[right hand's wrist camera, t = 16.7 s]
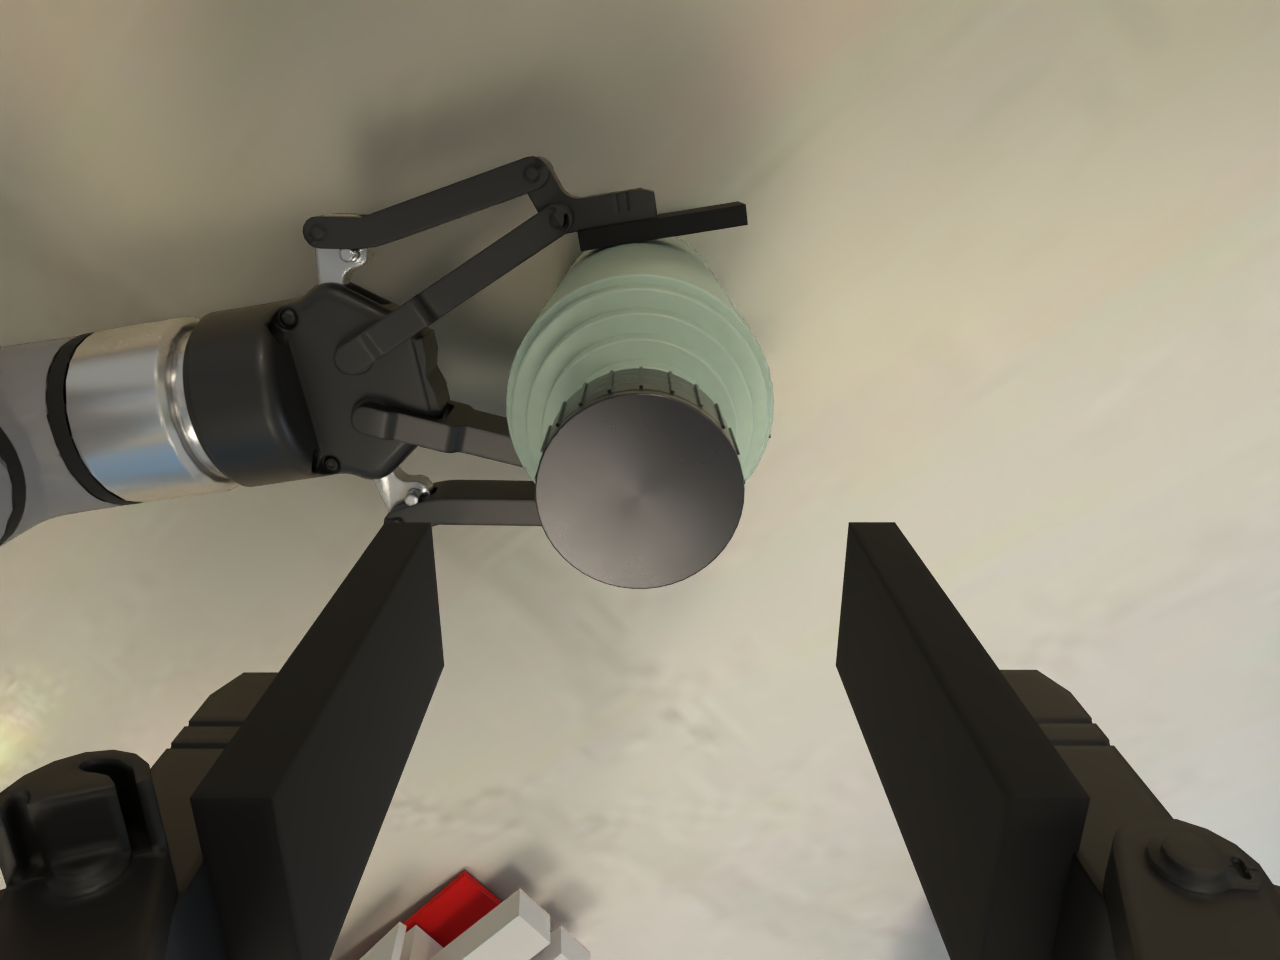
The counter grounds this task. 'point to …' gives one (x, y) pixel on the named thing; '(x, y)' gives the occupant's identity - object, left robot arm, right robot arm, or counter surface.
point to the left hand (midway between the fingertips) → (753, 320)
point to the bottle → (640, 342)
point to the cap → (639, 479)
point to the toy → (477, 929)
